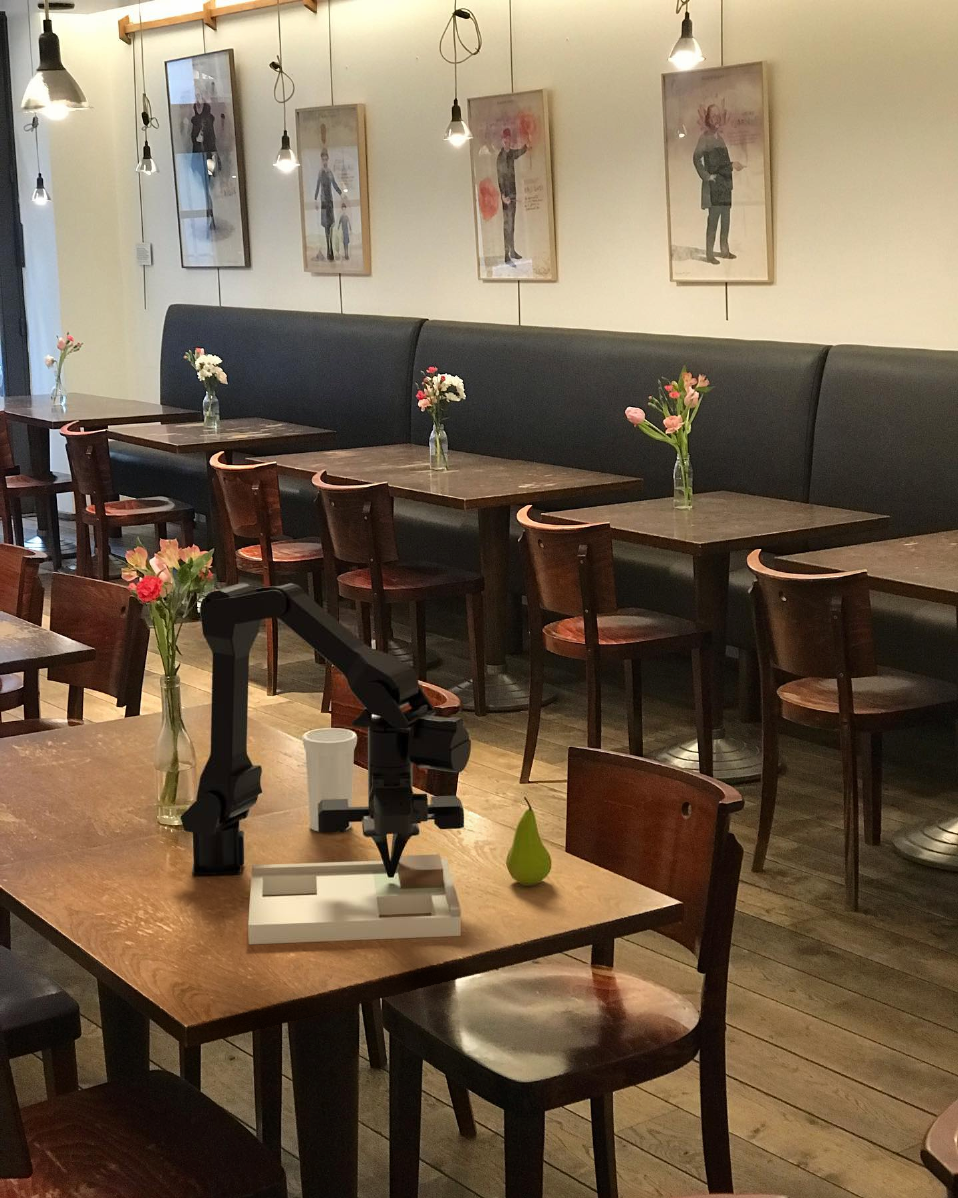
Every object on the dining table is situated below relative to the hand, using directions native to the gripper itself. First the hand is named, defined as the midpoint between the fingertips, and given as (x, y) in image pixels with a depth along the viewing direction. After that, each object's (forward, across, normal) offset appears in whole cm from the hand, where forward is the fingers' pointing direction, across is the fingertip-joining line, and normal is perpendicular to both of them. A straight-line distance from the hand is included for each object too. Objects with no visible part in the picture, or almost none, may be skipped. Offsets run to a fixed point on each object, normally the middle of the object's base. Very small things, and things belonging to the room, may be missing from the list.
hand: (390, 876), depth 209 cm
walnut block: (+1, +4, 0) cm, 4 cm away
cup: (+4, -7, +29) cm, 30 cm away
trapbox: (+3, -5, -4) cm, 7 cm away
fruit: (+4, +19, +4) cm, 20 cm away
